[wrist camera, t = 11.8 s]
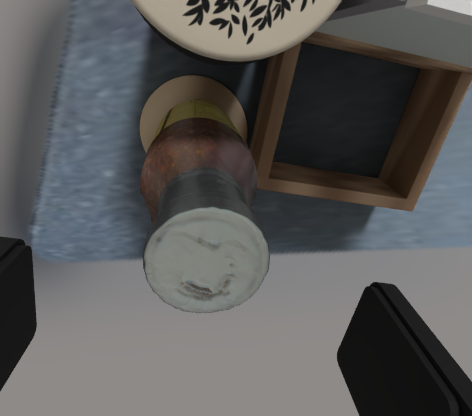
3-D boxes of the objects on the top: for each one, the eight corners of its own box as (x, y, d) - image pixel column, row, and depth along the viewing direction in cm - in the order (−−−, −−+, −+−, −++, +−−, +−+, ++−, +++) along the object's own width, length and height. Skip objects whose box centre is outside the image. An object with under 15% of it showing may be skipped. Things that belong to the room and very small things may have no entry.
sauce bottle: (191, 183, 30) (179, 377, 12) (143, 127, 28) (41, 269, 10) (251, 139, 29) (333, 285, 11) (206, 77, 27) (221, 135, 9)
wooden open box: (436, 58, 28) (503, 61, 22) (383, 189, 33) (426, 222, 27) (276, 20, 26) (301, 11, 20) (245, 167, 31) (257, 198, 24)
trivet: (256, 87, 28) (257, 87, 27) (235, 187, 31) (236, 189, 31) (145, 64, 26) (144, 65, 26) (137, 172, 30) (136, 174, 29)
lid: (438, 58, 28) (855, 76, 10) (433, 71, 29) (826, 110, 11) (267, 18, 26) (424, -52, 8) (264, 32, 26) (406, -2, 8)
